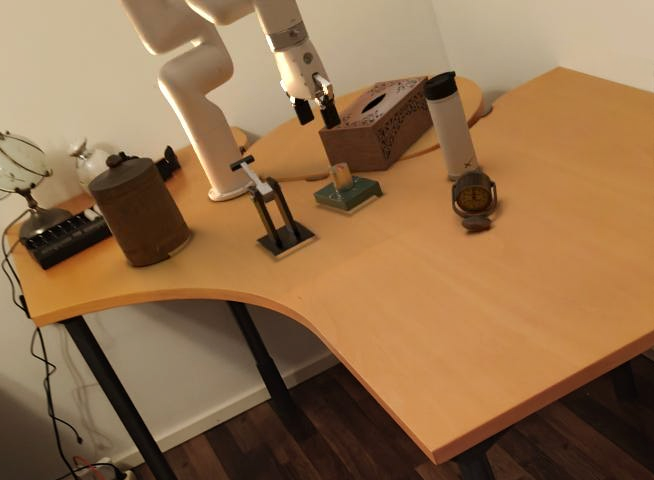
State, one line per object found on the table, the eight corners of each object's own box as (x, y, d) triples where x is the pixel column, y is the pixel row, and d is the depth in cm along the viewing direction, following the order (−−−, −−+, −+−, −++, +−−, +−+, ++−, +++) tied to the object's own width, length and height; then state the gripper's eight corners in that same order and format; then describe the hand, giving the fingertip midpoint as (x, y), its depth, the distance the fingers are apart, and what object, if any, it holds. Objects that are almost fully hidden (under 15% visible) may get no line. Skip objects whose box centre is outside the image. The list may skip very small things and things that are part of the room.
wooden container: (157, 231, 195) (110, 143, 183) (204, 229, 188) (158, 136, 175) (115, 267, 186) (62, 176, 173) (163, 266, 178) (111, 171, 166)
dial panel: (318, 206, 179) (312, 192, 177) (350, 186, 182) (345, 172, 181) (349, 215, 170) (344, 201, 168) (383, 194, 174) (378, 180, 172)
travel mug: (479, 177, 166) (452, 78, 155) (447, 183, 168) (418, 86, 157) (483, 163, 171) (457, 66, 160) (451, 170, 173) (423, 74, 162)
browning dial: (332, 190, 175) (324, 169, 172) (347, 181, 177) (339, 160, 174) (343, 193, 172) (334, 171, 170) (358, 184, 174) (350, 162, 171)
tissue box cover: (386, 169, 184) (371, 126, 178) (333, 173, 191) (318, 131, 186) (439, 117, 200) (427, 75, 194) (389, 122, 207) (376, 82, 202)
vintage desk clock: (511, 168, 152) (459, 161, 155) (486, 197, 143) (431, 189, 146) (511, 205, 156) (460, 198, 160) (486, 236, 147) (433, 227, 151)
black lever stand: (258, 244, 172) (232, 188, 165) (297, 224, 174) (272, 168, 167) (277, 260, 164) (250, 201, 156) (317, 239, 166) (292, 180, 159)
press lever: (231, 171, 168) (228, 162, 166) (253, 160, 169) (250, 151, 167) (259, 207, 163) (256, 198, 160) (281, 195, 164) (279, 186, 162)
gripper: (328, 28, 151) (360, 119, 161) (280, 28, 164) (313, 112, 174) (294, 46, 149) (329, 137, 158) (249, 44, 161) (283, 129, 171)
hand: (320, 124), depth 166 cm, fingers open, 9 cm apart
